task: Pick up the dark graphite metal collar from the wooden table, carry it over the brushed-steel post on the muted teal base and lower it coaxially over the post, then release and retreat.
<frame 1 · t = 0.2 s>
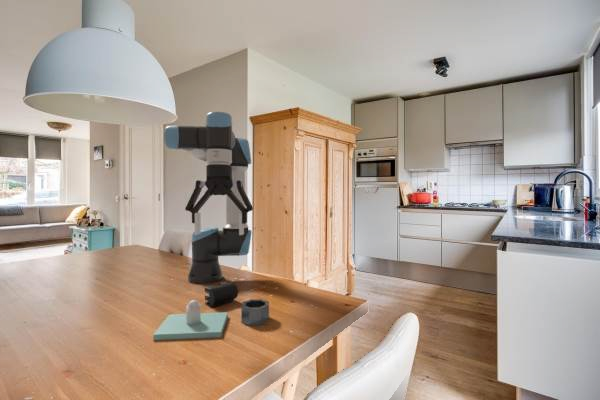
hand: (219, 234, 95), 27 cm above the table, fingers open, 13 cm apart
post stand: (193, 327, 92), on the table
collar: (255, 319, 98), on the table
end cap: (221, 303, 112), on the table
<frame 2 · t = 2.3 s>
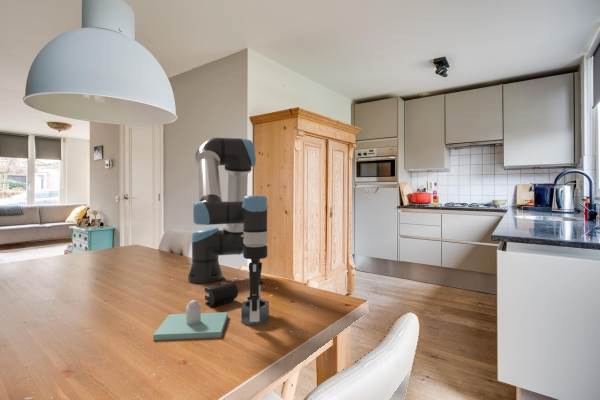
hand: (255, 312, 97), 2 cm above the table, fingers open, 13 cm apart
nothing on the table moved.
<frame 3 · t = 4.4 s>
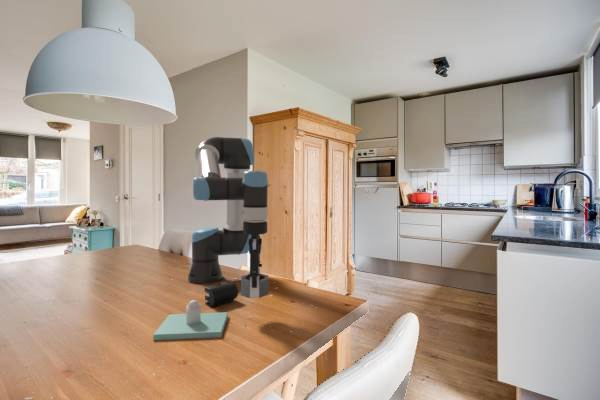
hand: (255, 292, 98), 9 cm above the table, fingers closed on collar, 8 cm apart
collar: (255, 293, 98), point 8 cm above the table, touching gripper
everything else where it was.
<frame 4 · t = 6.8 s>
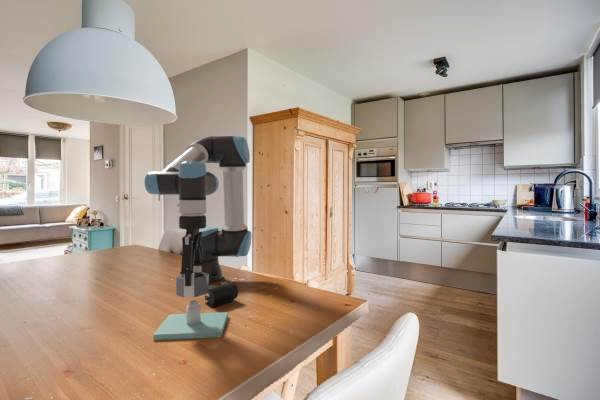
hand: (193, 291, 91), 11 cm above the table, fingers closed on collar, 8 cm apart
collar: (192, 292, 91), point 11 cm above the table, touching gripper
everything else where it was.
when the fingers open (2 cm above the table, at t = 9.3 s): collar stays where it is, resting on post stand.
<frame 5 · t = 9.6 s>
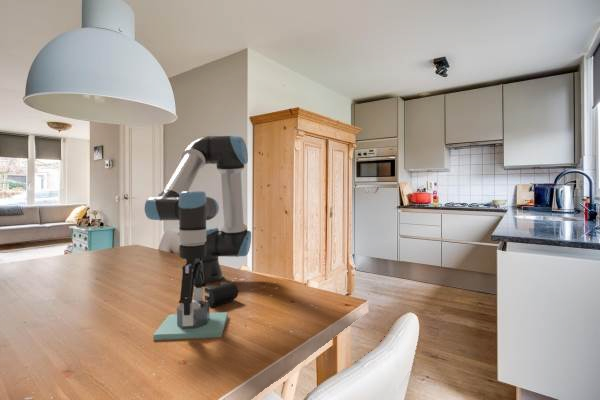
hand: (193, 316, 92), 3 cm above the table, fingers open, 12 cm apart
collar: (193, 322, 92), point 1 cm above the table, touching post stand
everything else where it was.
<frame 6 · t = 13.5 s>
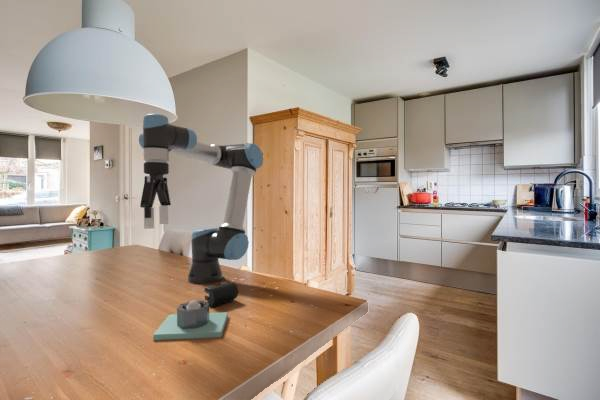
hand: (157, 226, 104), 29 cm above the table, fingers open, 13 cm apart
nothing on the table moved.
at the end: collar 0.0 cm off-centre on the post stand, point 1.5 cm above the post stand's base; the gripper is holding nothing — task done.
